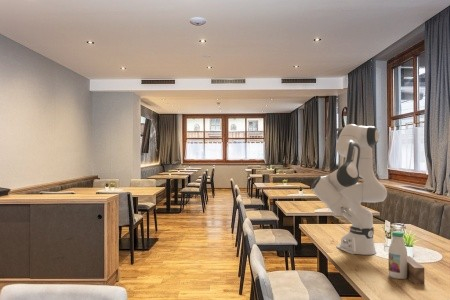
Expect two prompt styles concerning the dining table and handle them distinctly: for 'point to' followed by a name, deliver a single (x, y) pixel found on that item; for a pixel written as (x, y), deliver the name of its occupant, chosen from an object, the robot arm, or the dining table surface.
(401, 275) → the milk bottle
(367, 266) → the dining table surface
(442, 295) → the dining table surface
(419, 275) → the walnut block
